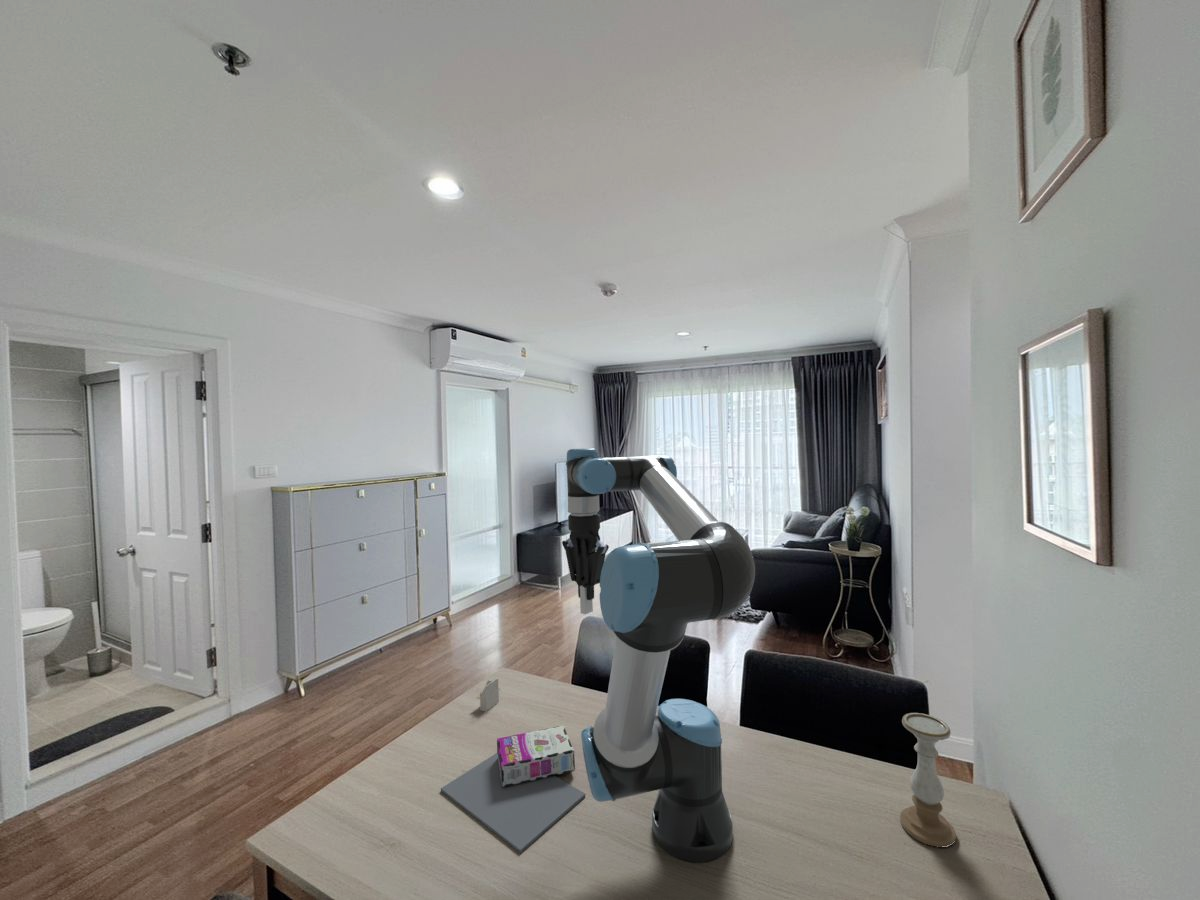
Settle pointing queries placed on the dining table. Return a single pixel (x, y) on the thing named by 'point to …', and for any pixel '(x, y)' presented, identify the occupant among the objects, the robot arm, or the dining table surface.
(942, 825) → the candle holder
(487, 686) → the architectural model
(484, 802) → the mat
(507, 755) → the candy bar box
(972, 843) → the dining table surface
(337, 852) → the dining table surface
